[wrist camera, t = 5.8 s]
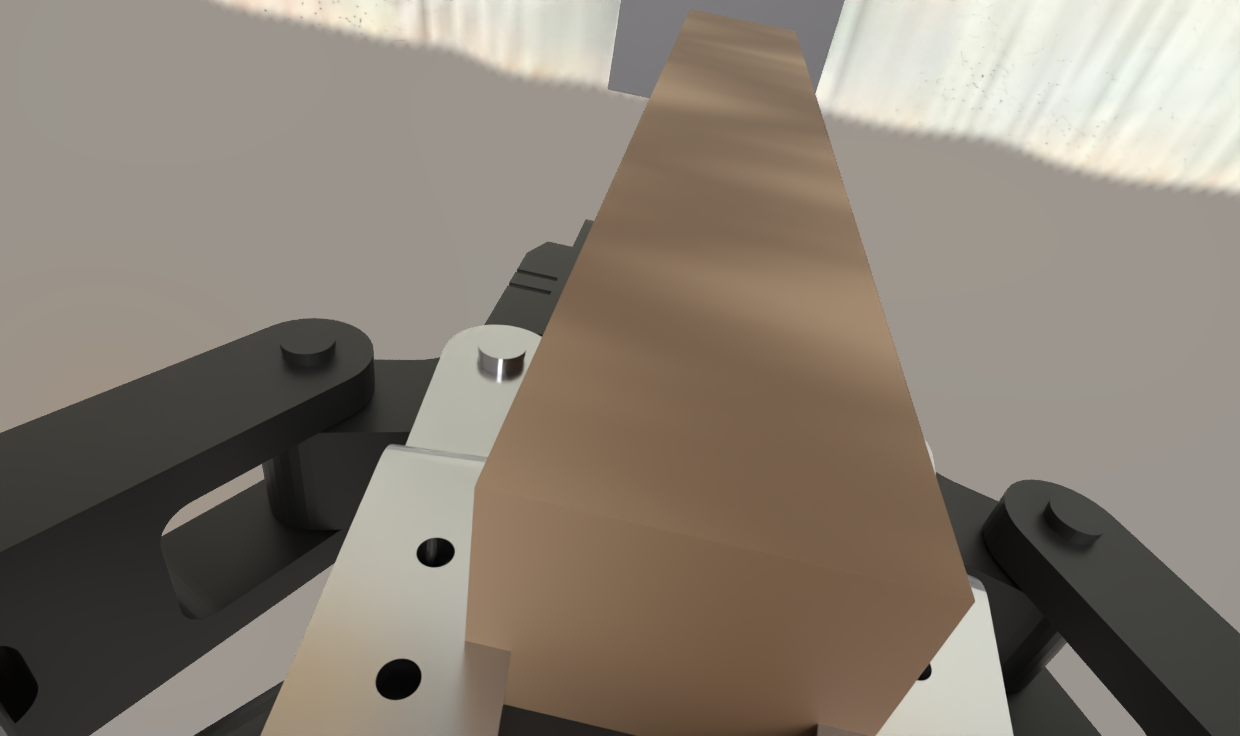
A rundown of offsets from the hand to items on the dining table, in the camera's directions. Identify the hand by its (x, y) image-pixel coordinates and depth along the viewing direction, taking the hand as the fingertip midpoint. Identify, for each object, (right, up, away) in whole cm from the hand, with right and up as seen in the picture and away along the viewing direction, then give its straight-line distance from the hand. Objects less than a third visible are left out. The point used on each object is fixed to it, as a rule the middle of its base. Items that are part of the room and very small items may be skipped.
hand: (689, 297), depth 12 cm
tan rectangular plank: (+1, +5, +7) cm, 8 cm away
